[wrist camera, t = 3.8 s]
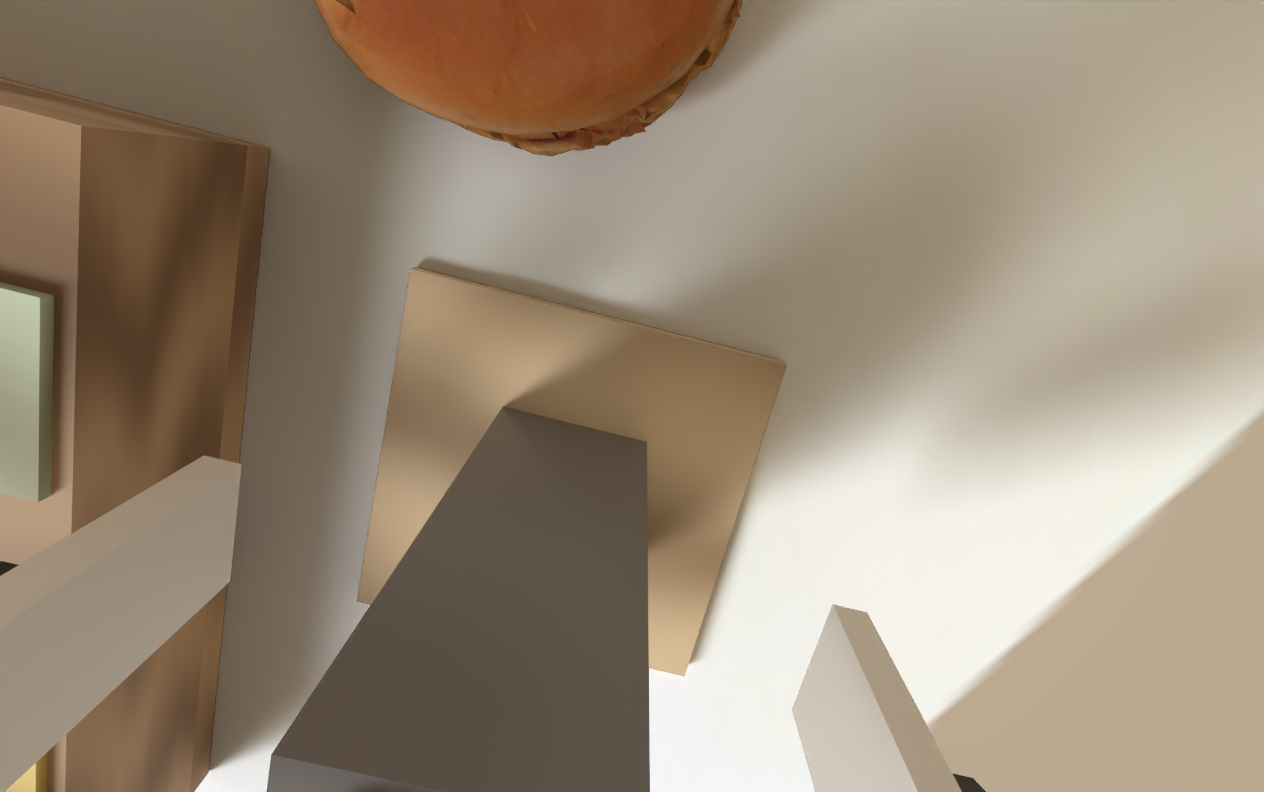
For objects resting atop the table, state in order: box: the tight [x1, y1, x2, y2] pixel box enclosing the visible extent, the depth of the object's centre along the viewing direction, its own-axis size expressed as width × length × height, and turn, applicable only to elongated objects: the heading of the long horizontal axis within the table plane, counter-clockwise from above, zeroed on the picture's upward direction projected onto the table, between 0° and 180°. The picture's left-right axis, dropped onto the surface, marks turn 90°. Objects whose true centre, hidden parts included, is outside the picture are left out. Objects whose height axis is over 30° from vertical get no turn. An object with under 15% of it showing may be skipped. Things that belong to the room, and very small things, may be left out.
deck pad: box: [357, 267, 786, 676], centre depth 19 cm, size 10×10×1 cm
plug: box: [267, 407, 650, 792], centre depth 13 cm, size 4×4×13 cm
